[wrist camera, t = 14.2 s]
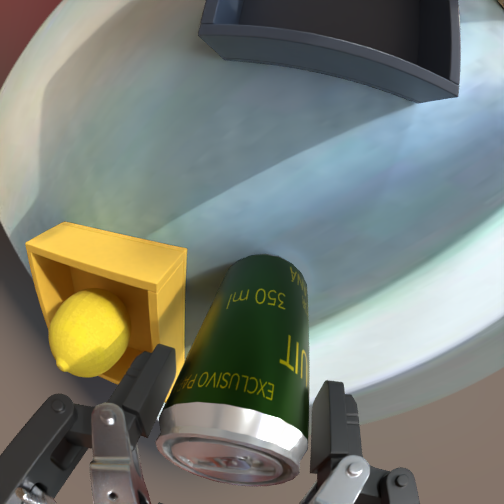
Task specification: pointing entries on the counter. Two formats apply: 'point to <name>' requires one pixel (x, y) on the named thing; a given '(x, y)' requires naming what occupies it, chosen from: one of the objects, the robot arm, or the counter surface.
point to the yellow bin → (115, 283)
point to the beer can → (245, 381)
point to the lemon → (89, 332)
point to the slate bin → (346, 40)
